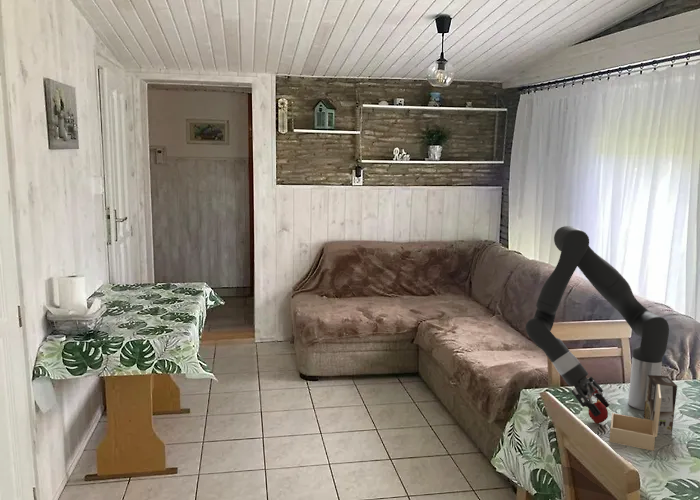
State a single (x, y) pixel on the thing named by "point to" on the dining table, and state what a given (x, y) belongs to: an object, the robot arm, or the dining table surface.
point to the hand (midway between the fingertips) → (602, 411)
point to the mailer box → (636, 428)
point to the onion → (602, 416)
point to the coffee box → (667, 401)
